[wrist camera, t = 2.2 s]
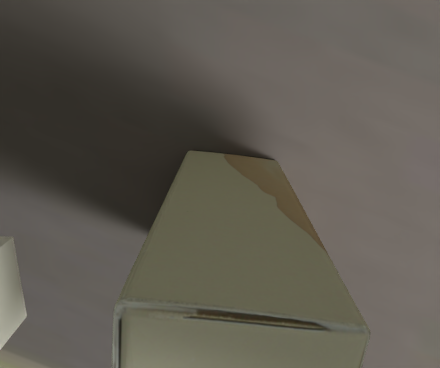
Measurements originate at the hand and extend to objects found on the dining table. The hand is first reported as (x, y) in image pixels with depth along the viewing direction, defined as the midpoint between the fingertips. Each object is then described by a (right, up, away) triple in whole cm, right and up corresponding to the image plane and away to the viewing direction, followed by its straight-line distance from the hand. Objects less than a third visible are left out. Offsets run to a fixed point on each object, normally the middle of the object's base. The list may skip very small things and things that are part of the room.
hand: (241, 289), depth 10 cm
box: (0, +2, +7) cm, 7 cm away
